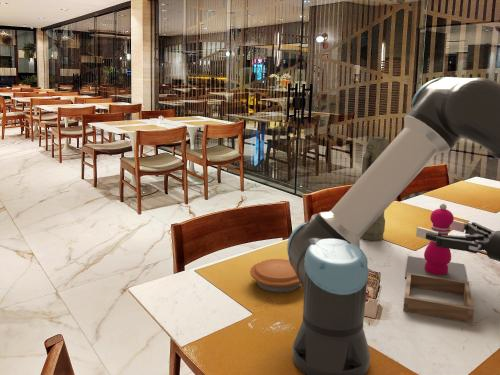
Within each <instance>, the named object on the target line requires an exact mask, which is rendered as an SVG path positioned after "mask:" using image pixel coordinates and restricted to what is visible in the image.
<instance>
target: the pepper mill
mask: <svg viewBox="0 0 500 375" xmlns="http://www.w3.org/2000/svg"><path fill="white" fill-rule="evenodd" d="M447 206H448V205H447V204H445V203H440V205H439V208H436V209H434V210H433V211H432V212H431V213H430V221H431V223H432V224H431V227H430V230H432V231H435V232H441V235H449V233H450V232H451V230H452V229H451V227H450V225H451V224H452V223H453V220H455V219H454V214H453V213H452V211H450V210H449V209H447V208H448V207H447ZM423 258H425V259H426V261H427V262H425V270H426V271H427V272H429V273H432V274H437V275H444V274H446V273H447V272H448V265H447V264H448V263H449V262H452V252H451V249H448V248H442V247H436V242H433V241H430V240H429V243H428V245H426V248H425V250H424V254H423Z"/></svg>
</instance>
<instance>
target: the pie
mask: <svg viewBox="0 0 500 375" xmlns="http://www.w3.org/2000/svg"><path fill="white" fill-rule="evenodd" d="M249 274H250V276H251V277H252V278H253V279H254V281H255V283H256V284H257V285H258V287H260V289H262V290H264V291H267V292H270V293H276V294H280V293H281V294H284V293H289V292H293V291H295V290H297V289H298V288H299V286H300V285H301V282H300V281H299V279H298V277H297V275H296V273H295V271H294V269H293V267H292V266H291V264H290V261H289V259H285V258H284V259H283V258H272V259H265V260H261V261H260V262H257V263H254V264H253V265H252V266H251V268H250V270H249Z"/></svg>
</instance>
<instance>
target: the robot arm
mask: <svg viewBox="0 0 500 375" xmlns="http://www.w3.org/2000/svg"><path fill="white" fill-rule="evenodd" d="M403 121H404V123H403V124H404V128H403V129H402V130H401V131H400V132H399V133H398V134H397V135H396V137H395V138H394V139H393V140H392V141H391V142H390V143H389V146H388V147H387V148H386V149H385V150H384V151H383V152H382V154H381V155H380V156H379V157H378V158H377V159H376V160H375V161H374V163H373V164H372V165H371V166H370V167H369V168H368V169H367V170H366V171H365V173H364V174H363V175H362V174H361V176H360V177H358V179H357V180H356V181H355V182H354V183H353V185H352V186H351V187H350V188H349V189H348V190H347V192H346V193H345V194H344V195H343V196H342V197H341V198H340V199H339V200H338V202H337V203H336V204H335V205H334V206H333V207H332V209H330V210H328V211H320V212H319V213H317V214H318V215H317V216H316V217H315V218H314V219H313V220H312V221H311V222H310V221H307V222H303V223H301V224H299V225H298V226H297V227H295V229H293V231H292V232H291V233H290V235H289V238H288V241H287V247H286V248H287V249H286V250H287V256H288V260H289V261H290V264H291V266H292V267H293V269H294V271H295V273H296V275H297V277H298V279H299V281H300V282H301V284H300V285H301V286H302V290H303V304H302V305H303V307H302V321H301V324H300V327H299V329H298V331H297V332H296V336H295V339H294V341H293V345H292V361H293V362H294V365H295V367H296V368H297V369H298V370H299V371H300V372H301V373H302V374H304V375H305V374H306V375H366V374H367V373H368V371H369V370H370V369H369V368H370V362H371V351H370V348H369V345H368V341H367V337H366V334H365V330H364V320H365V308H366V297H367V287H368V286H367V284H368V279H369V267H368V258H367V255H366V254H365V252H364V250H362V248H361V239H360V238H361V236H362V235H363V234H364V233H365V232H366V230H367V229H368V228H369V227H370V226H371V225H372V224H373V223H374V222H375V221H376V219H377V218H378V217H379V216H380V215H381V214H382V213H383V212H384V213H385V211H386V210H387V209H388V207H390V205H391V204H392V203H393V202H394V201H395V200H396V199H397V198H398V196H400V194H401V193H402V192H403V191H404V190H405V189H406V188H407V187H408V186H409V185H410V183H411V182H412V181H414V179H415V178H416V177H418V174H420V173H421V172H422V170H423V169H424V168H425V167H427V165H428V164H429V163H430V161H432V160H433V158H434V157H435V156H436V155H437V154H441V153H449V151H451V150H452V148H454V146H455V145H456V144H457V143H458V142H459V141H460V140H461V139H465V140H469V141H471V142H473V143H476V144H478V145H479V146H481V147H483V148H484V149H485V150H487V152H489V153H490V154H491V155H492V156H493V157H494V158H495V159H498V160H500V83H499V82H498V81H495V80H493V79H489V78H486V77H456V76H442V77H438V78H434V79H432V80H429V81H427V82H426V83H424V84H423V85H422V86H421V87H420V88H418V90H417V91H416V93H415V94H414V96H413V98H412V100H411V108H410V110H409V111H408V112H407V113H406V115H405V116H404V117H403ZM450 227H451V229H450V230H453V231H456V232H460V233H464V234H465V235H454V234H453V235H452V234H448V235H441V232H435V231H432V230H431V229H429V228H424V227H421V226H417V227H416V231H415V232H416V233H415V234H416V235H415V237H417V238H420V239H424V240H426V241H429V242H430V241H433V242H436V247H442V248H448V249H450V250H456V251H462V252H468V253H471V254H478V252H479V251H485V252H486V255H487V257H488V259H491V260H493V261H496V262H500V230H496V231H494V230H492V229H491V228H487V227H485V226H483V225H481V224H480V223H477V222H475V221H473V222H467V223H466V222H463V221H460V220H455V219H454V220H453V223H452V224H451V225H450Z"/></svg>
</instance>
